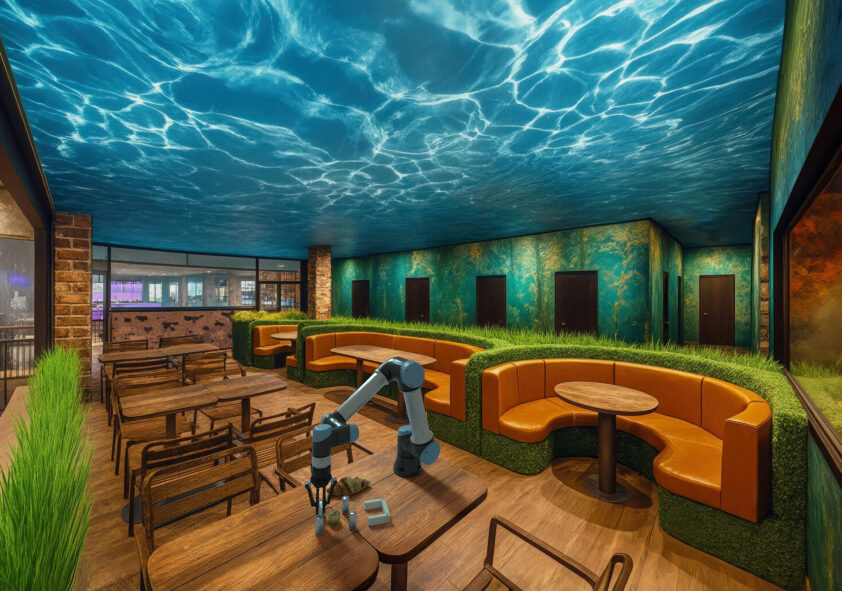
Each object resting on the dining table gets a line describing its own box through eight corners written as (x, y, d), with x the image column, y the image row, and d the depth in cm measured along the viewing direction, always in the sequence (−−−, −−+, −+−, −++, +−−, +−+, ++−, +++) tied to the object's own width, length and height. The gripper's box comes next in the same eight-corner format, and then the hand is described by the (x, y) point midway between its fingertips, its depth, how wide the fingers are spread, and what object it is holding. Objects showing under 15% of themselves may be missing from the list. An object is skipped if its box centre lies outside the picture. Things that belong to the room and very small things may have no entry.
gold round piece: (328, 519, 144) (328, 510, 144) (339, 517, 145) (339, 509, 145) (328, 526, 140) (328, 517, 140) (340, 524, 141) (340, 516, 141)
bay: (364, 507, 152) (364, 501, 152) (384, 504, 155) (384, 498, 155) (368, 526, 141) (368, 518, 141) (389, 522, 143) (390, 515, 143)
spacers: (315, 514, 147) (315, 500, 147) (353, 508, 152) (353, 494, 152) (315, 537, 134) (315, 521, 134) (356, 529, 138) (357, 515, 138)
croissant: (368, 489, 172) (366, 472, 175) (374, 490, 164) (372, 471, 167) (324, 499, 162) (324, 480, 166) (329, 500, 154) (328, 480, 158)
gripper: (304, 471, 135) (303, 530, 135) (338, 466, 139) (337, 524, 139) (304, 461, 142) (303, 518, 143) (337, 457, 146) (336, 512, 147)
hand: (320, 521), depth 141 cm, fingers closed
